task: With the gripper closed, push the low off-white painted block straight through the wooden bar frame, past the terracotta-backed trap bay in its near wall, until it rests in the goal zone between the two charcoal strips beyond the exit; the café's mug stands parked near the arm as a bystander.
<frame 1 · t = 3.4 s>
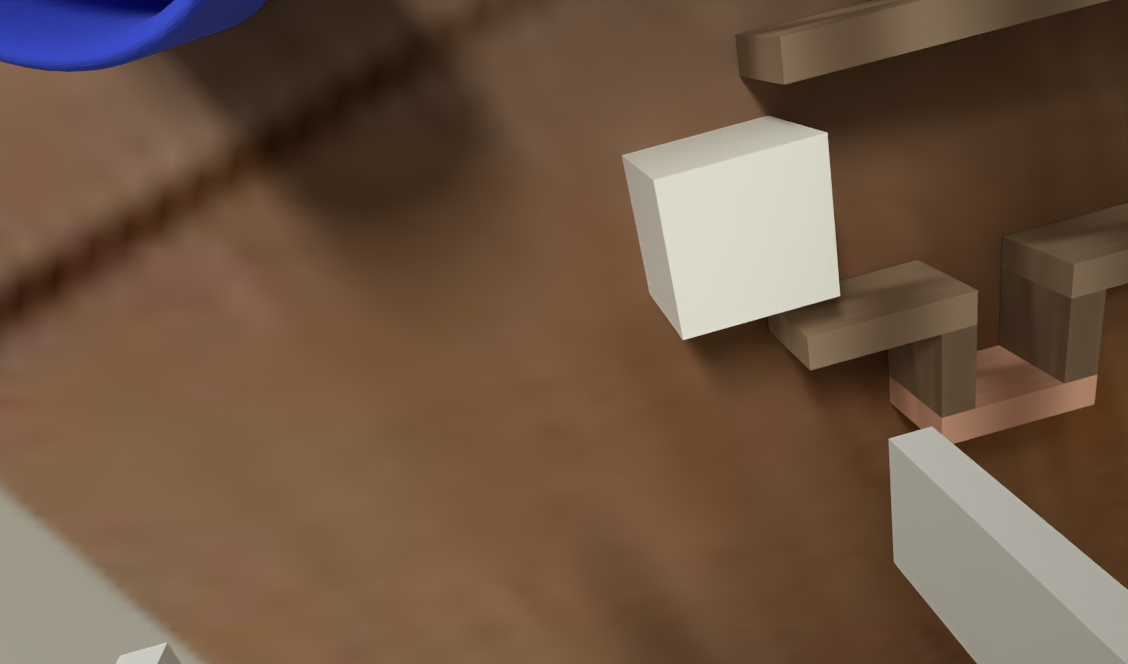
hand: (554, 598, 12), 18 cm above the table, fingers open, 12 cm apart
block: (705, 207, 29), on the table
wooden bar frame: (961, 141, 29), on the table
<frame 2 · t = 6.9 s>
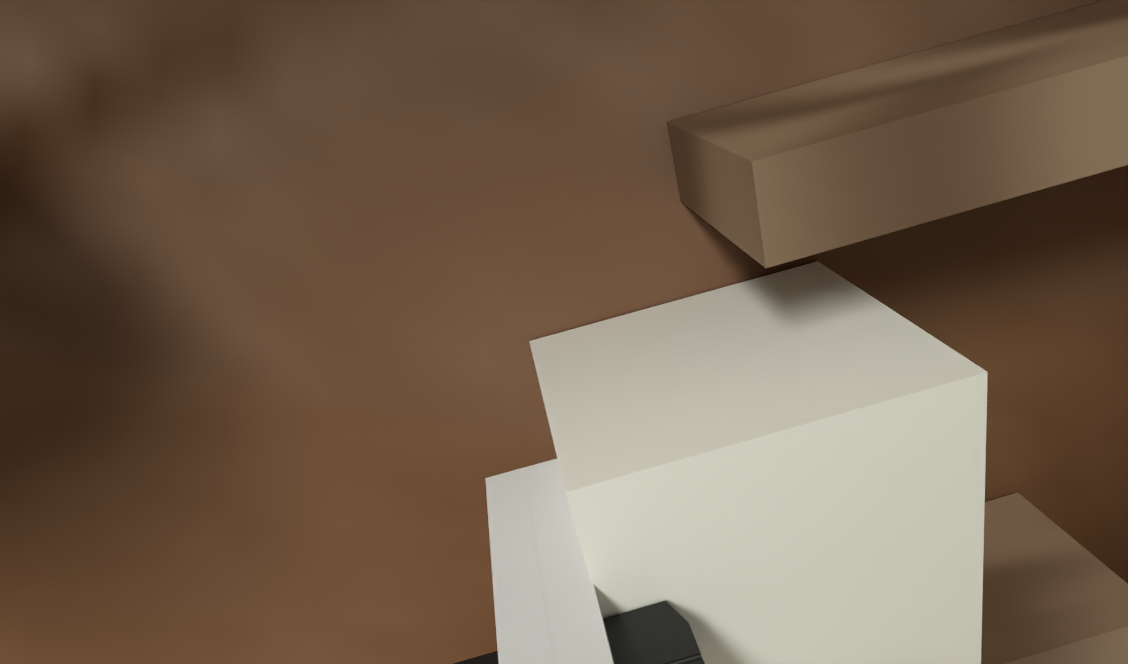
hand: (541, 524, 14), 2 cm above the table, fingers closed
block: (697, 425, 15), on the table, touching gripper
wooden bar frame: (1109, 297, 16), on the table
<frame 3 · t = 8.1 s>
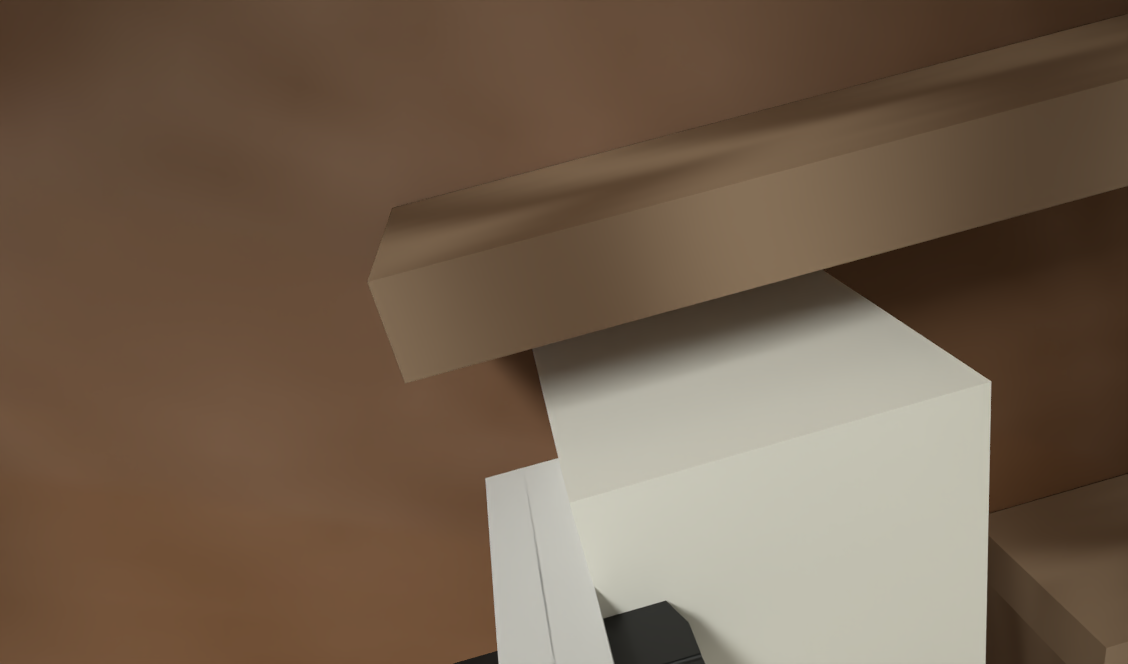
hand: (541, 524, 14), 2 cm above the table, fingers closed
block: (700, 431, 15), on the table, touching gripper
wooden bar frame: (887, 375, 16), on the table
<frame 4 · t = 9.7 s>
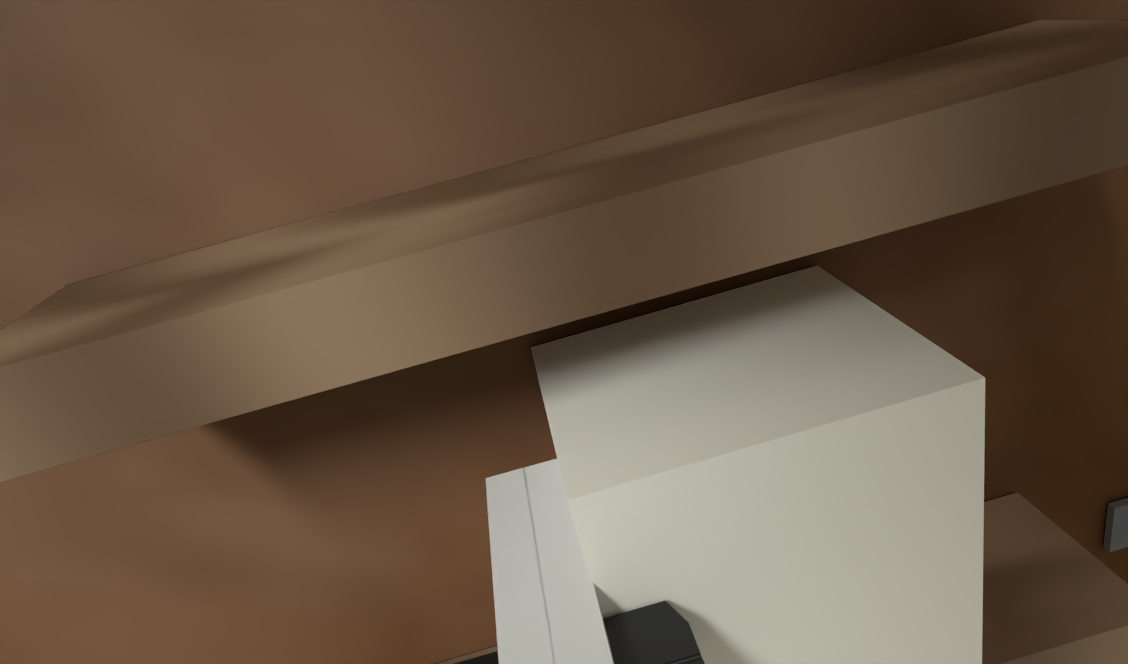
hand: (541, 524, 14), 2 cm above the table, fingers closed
block: (698, 428, 16), on the table, touching gripper
wooden bar frame: (631, 435, 15), on the table
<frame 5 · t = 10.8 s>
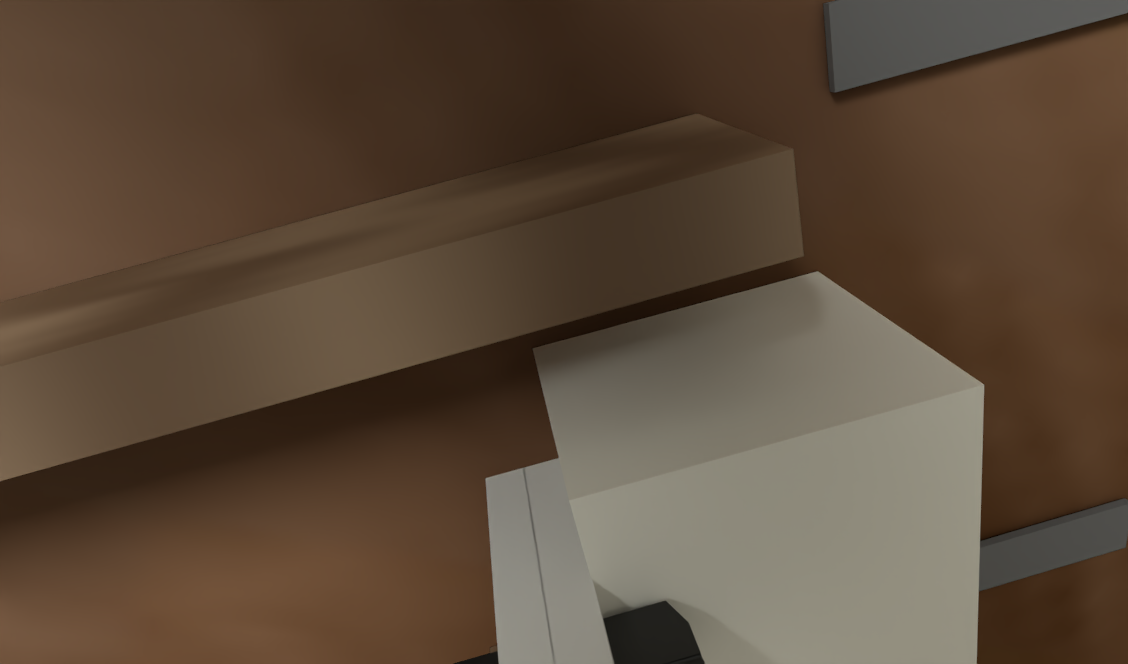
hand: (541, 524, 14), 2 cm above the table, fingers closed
block: (697, 432, 16), on the table, touching gripper
wooden bar frame: (337, 519, 15), on the table
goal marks: (1002, 328, 16), on the table
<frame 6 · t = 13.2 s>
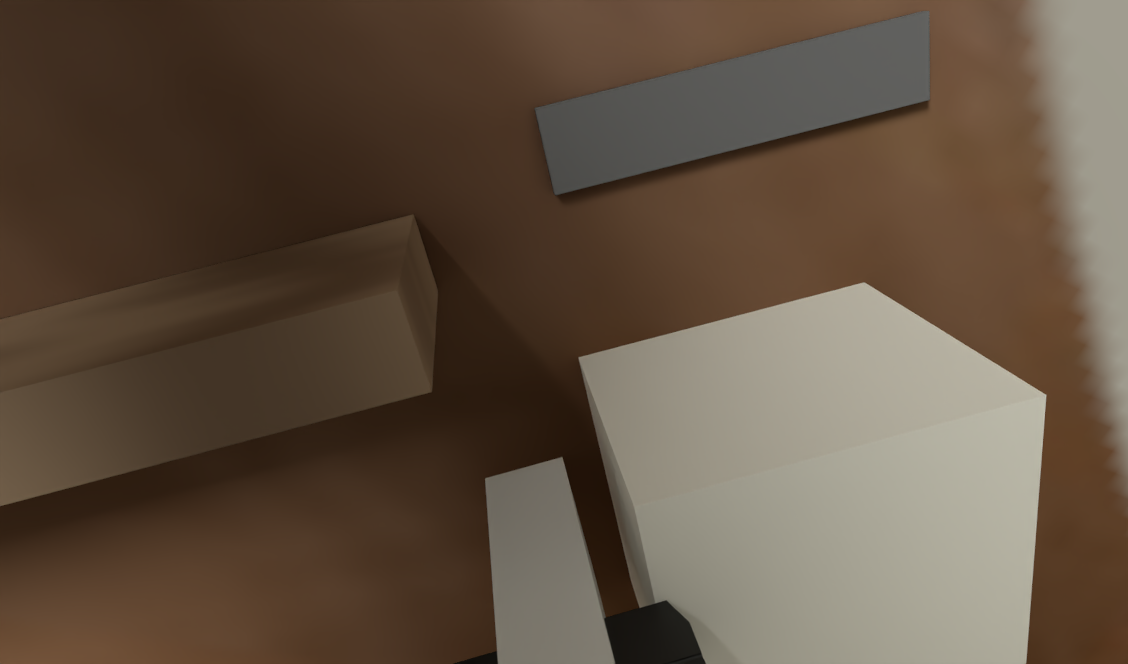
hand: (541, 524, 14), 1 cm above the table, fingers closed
block: (737, 439, 16), on the table, touching gripper
wooden bar frame: (82, 608, 15), on the table
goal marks: (772, 421, 15), on the table
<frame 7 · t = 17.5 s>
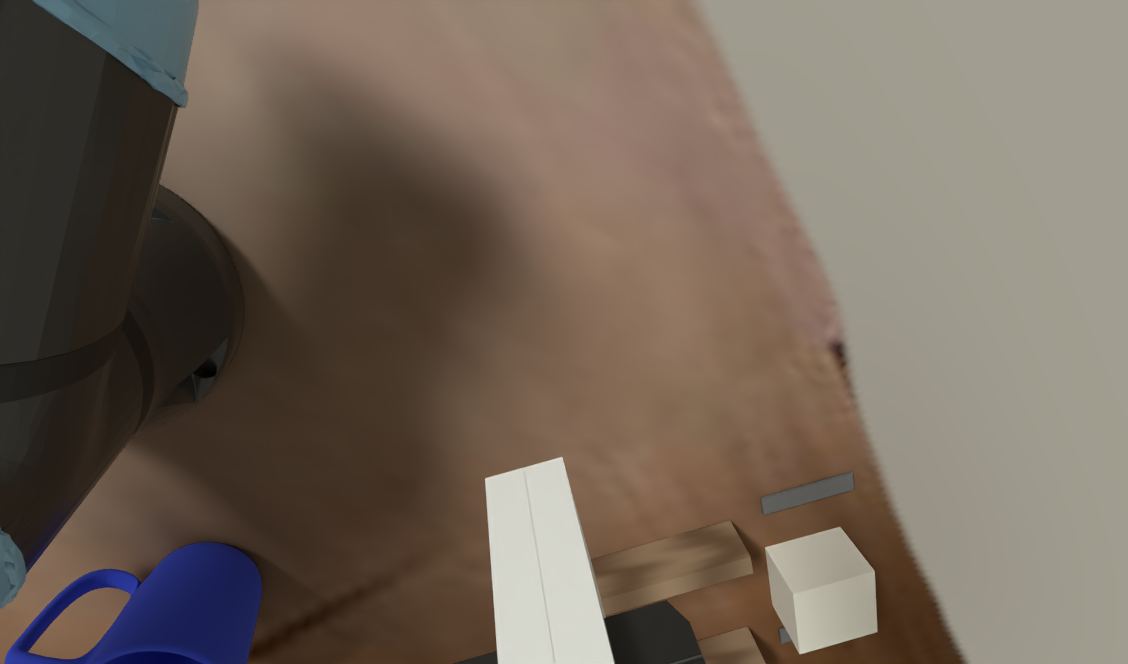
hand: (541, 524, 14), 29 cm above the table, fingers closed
mug: (183, 567, 48), on the table
block: (804, 565, 55), on the table
wooden bar frame: (628, 614, 55), on the table
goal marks: (814, 561, 55), on the table
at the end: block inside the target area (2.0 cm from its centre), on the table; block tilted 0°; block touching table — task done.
